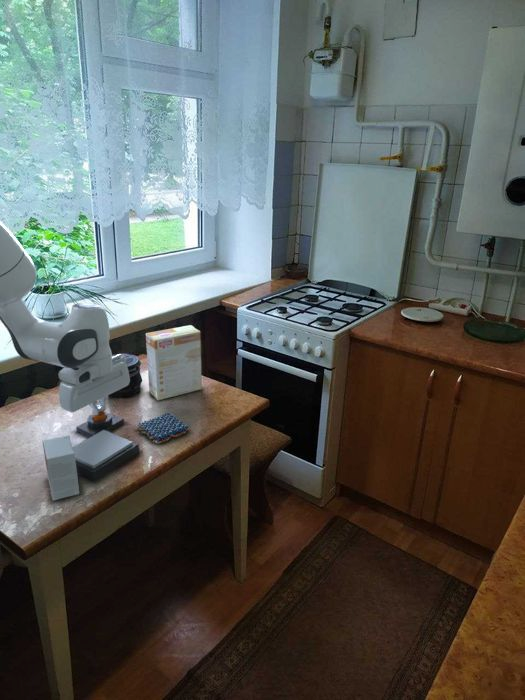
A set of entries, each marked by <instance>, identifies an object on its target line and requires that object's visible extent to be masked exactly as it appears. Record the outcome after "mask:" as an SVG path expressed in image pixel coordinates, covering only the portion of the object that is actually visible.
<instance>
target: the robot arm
mask: <svg viewBox="0 0 525 700" xmlns="http://www.w3.org/2000/svg"><path fill="white" fill-rule="evenodd" d="M37 275H38V271H37V268H36V266H35V263H34V261H33V259H32V258H31V256H30V255H29V254H28V252H27V251H26V249H25V248H24V247H23V246H22V244H21V242H20V241H19V240H18V239H17V238H16V236H15V235H14V234H13V233H12V231H11V230H9V228H8V227H7V226H6V225H5V224H4V223H3V222H2V221H1V220H0V322H1V323H2V324H3V326H4V327H5V329H6V330H7V331H8V334H9V337H10V339H11V341H12V345H13V347H14V350H15V351H16V353H17V355H19V357H20V358H23V359H25V360H29V361H35V362H40V363H45V364H48V365H52V366H57V367H61V368H62V369H61V370H59V372H58V379H59V380H61V382H60V383H59V386H58V397H59V405H60V407H61V408H62V410H64V411H66V412H68V413H74V412H77V411H79V410H81V409H83V408H85V407H87V406H89V407H90V408H91V409H92V414H95V415H98V414H100V413H102V412H107V407H106V406H107V403H108V400H109V396H108V395H110V394H112V393H114V392H116V391H118V390H120V389H122V388H124V387H126V386H128V385H129V382H130V377H129V371H128V367H127V365H126V357H125V356H124V355H121V354H122V353H118V355H116V354H115V355H116V356H114V357H112V355H113V354H112V349H111V347H110V339H111V331H110V326H109V325H110V323H109V318H108V314H107V311H106V309H105V307H103V306H102V305H100V304H96V303H91V302H78V303H77V302H76V303H75V304H72V306H71V310H70V313H69V314H68V316H67V318H66V319H64V320H63V322H60V323H55V322H51V321H47V320H44V319H41V318H38V317H37V316H35V315H34V314H32V312H31V311H30V309H29V307H28V306H27V304H26V302H25V301H24V300H23V298H24V297H26V296H27V295H28V294H29V293H30V292H31V291H32V289H33V288H34V286H35V284H36V281H37V277H38V276H37ZM98 401H99V402H98Z"/></svg>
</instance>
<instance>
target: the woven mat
mask: <svg viewBox="0 0 525 700" xmlns="http://www.w3.org/2000/svg"><path fill="white" fill-rule="evenodd" d="M137 425H138V426H137V429H136V430H137V431H141V434H142V435H143V434H144V435H146V436H147V437H148V439H149V440H152V443H153V444H154V443H155V444H162V443H164V442H167V441H169V440H170V439H172V438H178V437H179V436H181V435H183V434H186V432H190V426H189V425H188V424H187V423H184V421H181V419H179V418H178V417H176V416H175V415H174V414H172V413H171V412H168V413H164V414H163V415H162V414H161V415H159V416H157V417H154V418H152V419H151V418H150V419H149V420H144V421H143V422H138V424H137Z"/></svg>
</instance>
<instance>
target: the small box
mask: <svg viewBox="0 0 525 700" xmlns="http://www.w3.org/2000/svg"><path fill="white" fill-rule="evenodd" d="M72 447H73V444H72V441H71V437H70V435H65V436H59V437H54V438H48V439H44V440H42V449H43V454H44V461H45V467H46V475H47V480H48V484H49V490H50V495H51V500H52V501H53V502H54V501H57V500H61V499H64V498H68V497H72V496H77V495H80V487H79V479H78V477H79V476H78V473H77V469H76V460H75V453H74V451H73V448H72Z"/></svg>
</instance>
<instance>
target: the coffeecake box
mask: <svg viewBox="0 0 525 700" xmlns="http://www.w3.org/2000/svg"><path fill="white" fill-rule="evenodd" d="M201 337H202V335H201V330H200V329H197V328H195V326H193V325H192V324H189V325H183V326H179V327H173V328H168V329H167V328H166V329H162V330H156V331H150V332H146V333H145V347H146V360H147V361H146V362H147V375H148V389H149V390H148V391H149V393H150V394H151V395H152V396H153V397H154V398H155V399H156V400H157V401H162V400H166V399H168V398H173V397H177V396H181V395H184V394H189V393H193V392H196V391H200V390H202V388H203V387H202V386H203V385H202V382H203V381H202V344H201V343H202V341H201Z"/></svg>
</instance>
